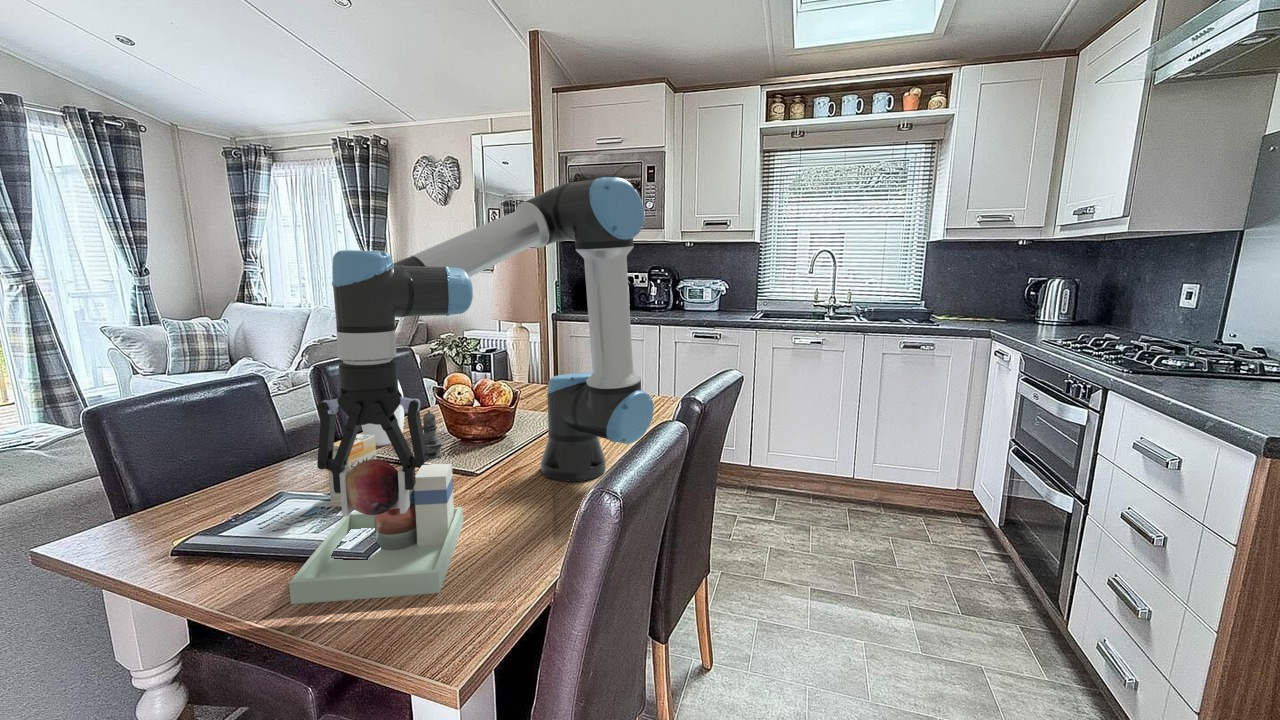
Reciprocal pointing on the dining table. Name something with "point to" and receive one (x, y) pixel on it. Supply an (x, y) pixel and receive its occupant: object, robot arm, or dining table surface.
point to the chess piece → (431, 436)
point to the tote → (373, 567)
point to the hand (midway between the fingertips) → (377, 510)
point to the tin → (397, 526)
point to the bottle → (377, 430)
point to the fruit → (372, 487)
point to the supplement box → (353, 459)
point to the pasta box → (433, 503)
